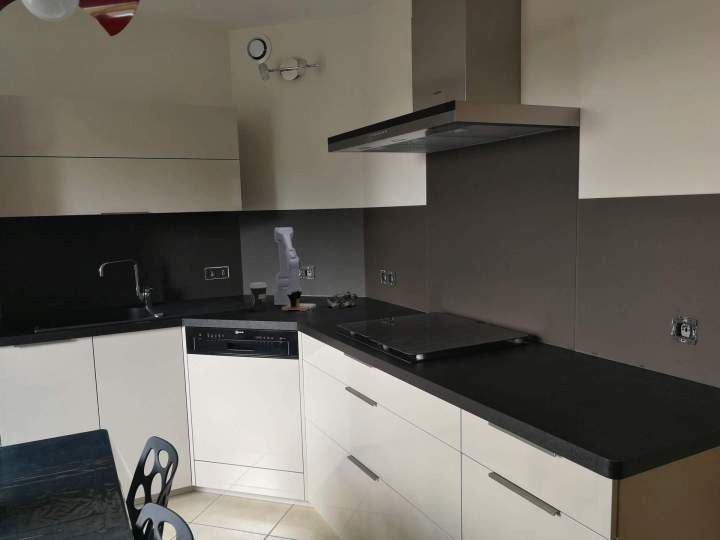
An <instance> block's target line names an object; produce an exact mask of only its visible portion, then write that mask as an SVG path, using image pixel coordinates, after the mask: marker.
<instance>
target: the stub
mask: <svg viewBox="0 0 720 540" xmlns="http://www.w3.org/2000/svg"><path fill="white" fill-rule="evenodd" d="M308 309H309V307H304V306H300V300H299V299H296V307H292V306H291V302H290V306H287V305H283V306H282V307H281V311H288V310H300V311H299V312H307V311H309V310H308ZM306 310H307V311H306Z"/></svg>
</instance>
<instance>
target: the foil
mask: <svg viewBox="0 0 720 540" xmlns="http://www.w3.org/2000/svg"><path fill="white" fill-rule="evenodd" d="M342 295H343V296H342ZM358 300H359V297H358V294H357V293H351V292H350V291H349V290H347V292H344V291H342V294H341V293H340V294H334V295H333V296H332V297H330V298H326V302H327V303H328V305H329V307H330V308H332V309H344V308H345V307H348V306H349V307H352V306H355V301H358Z"/></svg>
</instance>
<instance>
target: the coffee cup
mask: <svg viewBox="0 0 720 540" xmlns="http://www.w3.org/2000/svg"><path fill="white" fill-rule="evenodd" d="M267 287H268V285H267V283H266V282H265V281H259V282H258V281H256V282H250V285H249V287H248V288H250V289H249V291H250V297H251V305H252V312H254V311H256V312H255V313H257V312H258V313H260V312H261V311H262V312H265V311H266V309H267V308H266V305H267Z"/></svg>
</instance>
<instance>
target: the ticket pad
mask: <svg viewBox="0 0 720 540" xmlns="http://www.w3.org/2000/svg"><path fill="white" fill-rule="evenodd" d="M286 306H290V305H286ZM300 306H304V307H309V309H310V310H312V309H314V308H316V307H317V304H316V303H300ZM315 306H316V307H315ZM313 307H314V308H313ZM311 308H312V309H311Z"/></svg>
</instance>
